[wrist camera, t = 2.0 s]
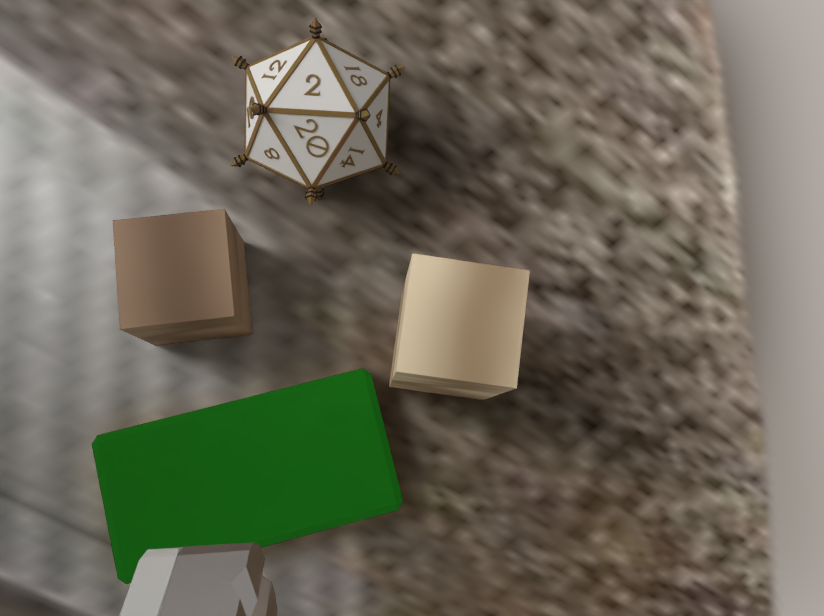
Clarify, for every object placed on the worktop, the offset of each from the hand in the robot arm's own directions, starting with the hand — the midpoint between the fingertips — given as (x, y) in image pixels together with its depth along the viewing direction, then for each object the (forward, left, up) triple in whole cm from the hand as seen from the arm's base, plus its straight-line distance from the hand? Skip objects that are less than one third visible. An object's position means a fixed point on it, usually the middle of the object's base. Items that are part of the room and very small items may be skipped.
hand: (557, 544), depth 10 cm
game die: (-7, +16, -30) cm, 35 cm away
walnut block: (-12, +7, -30) cm, 33 cm away
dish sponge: (-8, -1, -30) cm, 31 cm away
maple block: (+1, +6, -30) cm, 30 cm away
